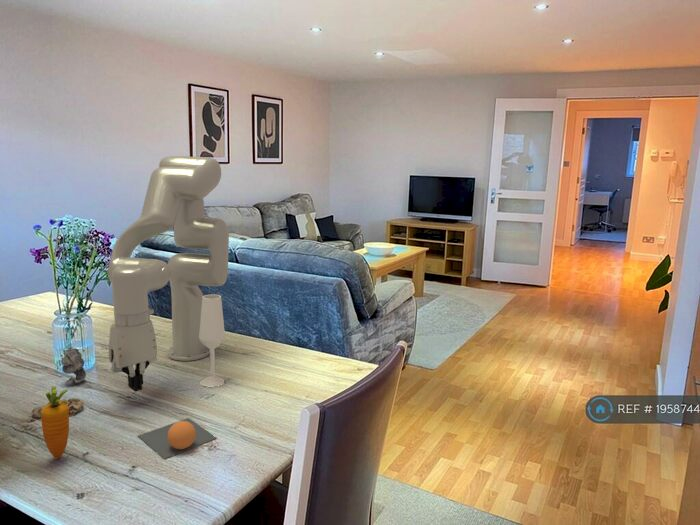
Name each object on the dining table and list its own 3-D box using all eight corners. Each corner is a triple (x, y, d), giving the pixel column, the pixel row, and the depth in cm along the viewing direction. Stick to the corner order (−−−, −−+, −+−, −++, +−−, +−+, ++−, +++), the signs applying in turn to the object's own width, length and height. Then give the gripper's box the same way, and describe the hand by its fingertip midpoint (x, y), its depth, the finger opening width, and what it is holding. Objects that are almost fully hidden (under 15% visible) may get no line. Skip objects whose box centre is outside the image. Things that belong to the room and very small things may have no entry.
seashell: (76, 388, 133) (74, 351, 131) (58, 385, 134) (56, 349, 132) (90, 380, 138) (88, 344, 136) (73, 377, 139) (71, 342, 137)
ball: (202, 431, 106) (197, 450, 108) (191, 412, 109) (186, 430, 112) (175, 439, 102) (171, 458, 105) (165, 419, 106) (161, 438, 108)
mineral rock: (83, 392, 126) (83, 396, 119) (84, 410, 126) (85, 415, 119) (31, 401, 121) (29, 407, 114) (33, 420, 121) (31, 426, 114)
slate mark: (188, 418, 120) (188, 417, 120) (216, 438, 112) (216, 437, 112) (137, 436, 111) (137, 435, 111) (164, 459, 103) (164, 458, 103)
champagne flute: (230, 382, 140) (230, 297, 136) (208, 389, 135) (207, 301, 131) (216, 375, 144) (215, 292, 140) (194, 381, 140) (193, 296, 135)
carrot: (51, 452, 104) (46, 382, 101) (76, 452, 104) (72, 382, 101) (38, 466, 99) (33, 393, 96) (65, 466, 99) (60, 393, 97)
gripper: (154, 307, 130) (158, 374, 134) (92, 320, 119) (98, 393, 123) (169, 314, 125) (172, 384, 129) (105, 329, 114) (111, 404, 118)
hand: (136, 388), depth 126 cm, fingers closed
